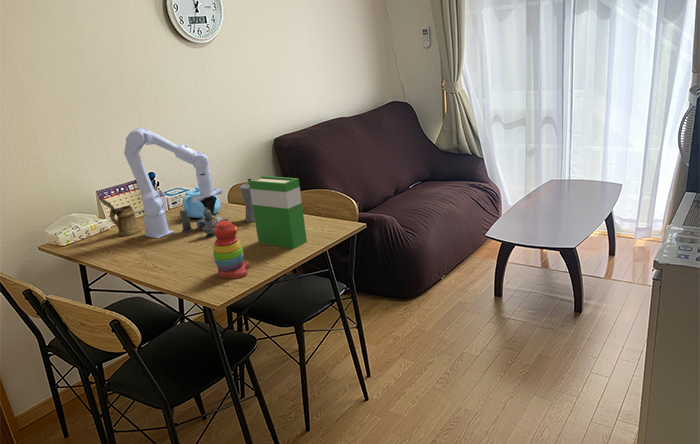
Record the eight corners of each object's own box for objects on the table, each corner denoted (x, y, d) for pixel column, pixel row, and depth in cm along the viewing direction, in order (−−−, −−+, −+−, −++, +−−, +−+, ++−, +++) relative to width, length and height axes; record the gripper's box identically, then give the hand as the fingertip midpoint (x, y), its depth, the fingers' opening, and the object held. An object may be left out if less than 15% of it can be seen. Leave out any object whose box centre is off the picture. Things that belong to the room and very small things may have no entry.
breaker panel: (197, 228, 220) (195, 218, 219) (212, 222, 226) (210, 212, 225) (214, 231, 214) (212, 221, 212) (229, 225, 220) (227, 215, 218)
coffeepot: (239, 218, 228) (232, 179, 222) (258, 213, 233) (252, 174, 227) (255, 226, 216) (248, 184, 210) (275, 220, 221) (269, 179, 215)
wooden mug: (105, 237, 221) (94, 197, 215) (135, 227, 230) (125, 188, 225) (114, 240, 215) (103, 199, 210) (144, 230, 225) (135, 190, 219)
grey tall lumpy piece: (205, 234, 212) (200, 206, 208) (220, 232, 212) (214, 204, 208) (202, 239, 206) (197, 210, 202) (217, 237, 206) (212, 208, 203)
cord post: (180, 232, 218) (175, 211, 215) (188, 228, 221) (184, 208, 218) (186, 233, 215) (182, 212, 212) (195, 230, 218) (191, 209, 216)
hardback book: (258, 242, 195) (248, 180, 188) (271, 236, 201) (262, 175, 194) (293, 248, 185) (284, 183, 178) (306, 241, 191) (298, 178, 184)
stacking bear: (246, 277, 165) (237, 224, 159) (214, 281, 165) (204, 228, 159) (250, 264, 175) (241, 214, 170) (220, 267, 175) (210, 217, 169)
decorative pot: (218, 218, 232) (213, 189, 228) (182, 222, 231) (176, 193, 227) (224, 208, 247) (219, 180, 243) (190, 212, 247) (184, 184, 242)
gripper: (197, 188, 206) (203, 220, 210) (225, 179, 217) (230, 210, 221) (186, 187, 210) (192, 218, 215) (214, 178, 221) (219, 208, 225)
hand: (211, 214), depth 218 cm, fingers closed
